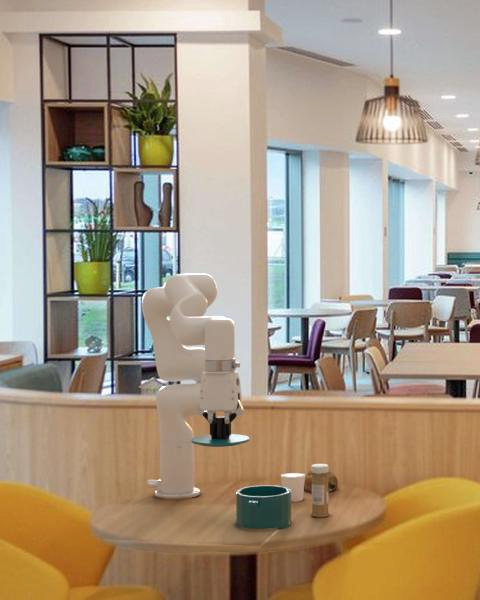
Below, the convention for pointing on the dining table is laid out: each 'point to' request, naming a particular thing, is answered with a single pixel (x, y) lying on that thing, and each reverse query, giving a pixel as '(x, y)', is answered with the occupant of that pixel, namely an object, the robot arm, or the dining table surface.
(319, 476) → the spice jar
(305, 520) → the dining table surface
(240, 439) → the lid
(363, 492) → the dining table surface
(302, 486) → the white cup
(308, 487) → the bread roll
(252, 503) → the pot
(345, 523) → the dining table surface
